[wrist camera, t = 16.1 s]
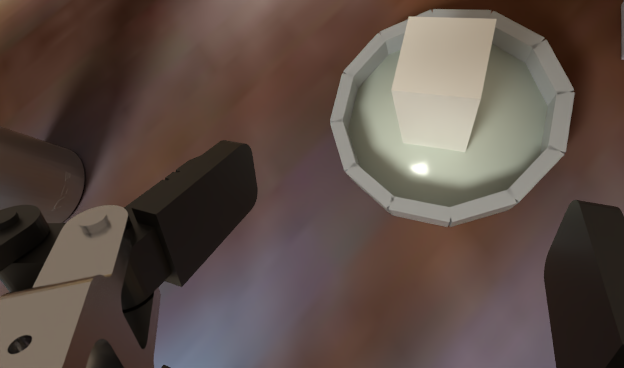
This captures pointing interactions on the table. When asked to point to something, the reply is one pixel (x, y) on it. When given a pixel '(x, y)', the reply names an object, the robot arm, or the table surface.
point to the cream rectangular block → (441, 79)
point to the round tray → (484, 136)
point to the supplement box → (622, 31)
